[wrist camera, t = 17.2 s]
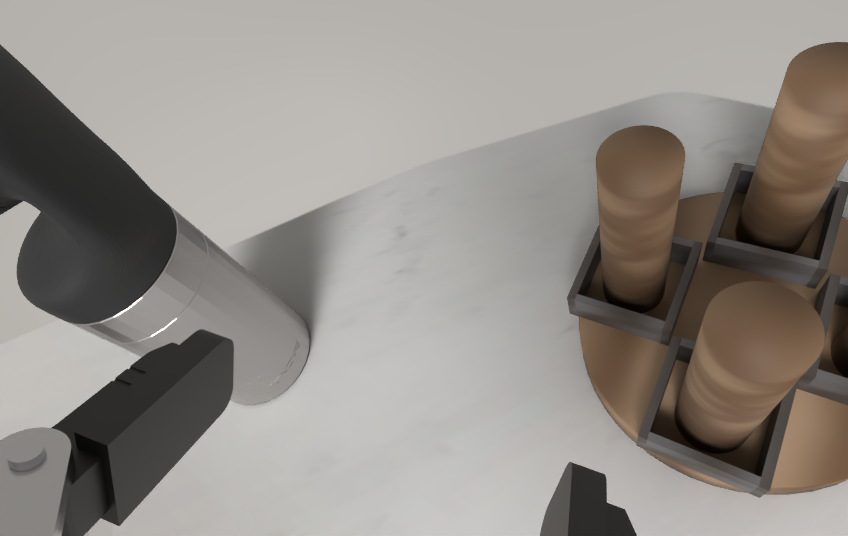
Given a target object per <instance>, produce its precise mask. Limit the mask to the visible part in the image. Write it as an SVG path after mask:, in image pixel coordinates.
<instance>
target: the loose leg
mask: <svg viewBox="0 0 848 536" xmlns="http://www.w3.org/2000/svg"><path fill="white" fill-rule="evenodd" d="M824 341H825V332H824V326H823V323H822V321H821V318H820V316H819V315H818V313H817V311H816V310H815V309H814V307H813V306H812V305H811V304H810V303H809V302H808V301H807V300H806V299H805V298H803V297H802V296H801V295H799V294H798V293H796V292H794V291H792V290H791V289H788V288H786V287H784V286H781V285H778V284H774V283H769V282H762V281H750V282H743V283H738V284H735V285H732V286H730V287H728V288H725V289H724V290H722V291H721V292H719V293H718V294H717V295H716V296H715V297H714V298H713V299H712V300H711V302H710V303H709V305H708V307H707V309H706V312H705V315H704V318H703V322H702V325H701V328H700V331H699V334H698V337H697V340H696V344H695V347H694V350H693V353H692V356H691V359H690V363H689V366H688V369H687V372H686V375H685V378H684V382H683V385H682V388H681V391H680V394H679V397H678V400H677V404H676V407H675V413H674V415H675V423H676V426H677V428H678V430H679V432H680V434H681V435H682V436H683V438H684V439H685V440H686V441H687V442H688V443H690V444H691V445H692V446H694V447H695V448H697V449H699V450H701V451H704V452H708V453H713V454H723V453H728V452H731V451H734V450H736V449H737V448H739V447H740V446H741V445H742V444H743V443H744V442H745V441H746V440H747V438H748V437H749V436H750V435H751V434H752V433H753V432H754V431H755V429H756V428H757V427H758V426H759V425H760V424H761V423H762V421H763V420H764V419H765V418H766V417H767V416H768V415H769V413H770V412H771V411H772V410H773V409H774V408H775V407H776V405H777V404H778V403H779V402H780V401H781V400H782V399H783V398H784V396H785V395H786V394H787V393H788V392H789V391H790V390H791V388H792V387H793V386H794V385H795V384H796V383H797V382H798V380H799V379H800V378H801V377H802V376H803V375H804V374H805V373H806V371H807V370H808V369H809V368H810V367H811V366H812V365H813V363H814V362H815V361H816V360H817V359H818V357H819V356H820V354H821V352H822V349H823V346H824Z"/></svg>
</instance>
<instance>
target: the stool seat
mask: <svg viewBox="0 0 848 536" xmlns="http://www.w3.org/2000/svg"><path fill="white" fill-rule="evenodd" d="M847 159H848V43H847V42H834V43H825V44H821V45H817V46H814V47H811V48H808V49H806V50H804V51H803V52H801V53H799V54H798V55H797V56H796V57H795V58H794V59H793V60H792V61H791V62H790V64H789V66H788V68H787V72H786V75H785V78H784V81H783V84H782V87H781V90H780V93H779V96H778V99H777V102H776V106H775V108H774V111H773V115H772V118H771V121H770V124H769V127H768V130H767V133H766V136H765V139H764V142H763V145H762V148H761V151H760V154H759V158H758V161H757V164H756V167H755V166H749V165H744V164H738V163H735V164H734V167H733V169H732V172H731V175H730V178H729V181H728V183H727V186H726V189H725V192H724V193H713V194H705V195H698V196H694V197H690V198H686V199H681V200H679V194H680V188H681V181H682V175H683V168H684V162H685V151H684V147H683V145H682V143H681V142H680V140H679V139H678V138H677V137H676V136H675V135H673V134H672V133H670V132H669V131H667V130H665V129H662V128H659V127H654V126H633V127H628V128H625V129H622V130H620V131H618V132H616V133H614V134H612V135H611V136H609V137H608V138H607V139H606V140H605V141H604V142H603V143H602V145H601V146H600V148H599V150H598V152H597V156H596V171H597V189H598V207H599V226H598V229H597V231H596V233H595V236H594V238H593V240H592V242H591V245H590V247H589V249H588V252H587V254H586V256H585V258H584V261H583V263H582V265H581V267H580V270H579V272H578V274H577V277H576V279H575V281H574V283H573V286H572V288H571V290H570V293H569V295H568V297H567V300H568V305H569V311H570V314H573V315H576V316H579V327H580V336H581V344H582V350H583V357H584V361H585V364H586V368H587V372H588V375H589V378H590V380H591V383H592V385H593V387H594V390H595V392H596V394H597V395H598V397H599V399H600V401H601V402H602V404H603V406H604V408H605V409H606V410H607V412H608V413H609V414H610V416H611V417H612V418H613V420H614V421H615V422H616V424H617V425H618V426H619V427H620V428H621V429H622V430H623V431H624V432H625V433H626V434H627V435H628V436H629V437H630V438H631V439H632V440H633V441H634V442H635V443H637V446H639V447H641V448H643V449H644V450H645V451H646V452H647V453H649V454H650V455H652V456H653V457H655V458H656V459H658V460H659V461H661V462H663V463H664V464H666V465H667V466H669V467H671V468H673V469H675V470H677V471H679V472H681V473H683V474H685V475H687V476H689V477H691V478H694V479H697V480H699V481H702V482H705V483H707V484H710V485H713V486H717V487H721V488H725V489H729V490H734V491H738V492H746V493H750V494H752V495H755V496H757V497H761V496H763V495H764V494H795V493H803V492H811V491H815V490H819V489H822V488H826V487H830V486H834V485H836V484H839V483H841V482H843V481H846V480H848V220H847V219H845V218H843V217H842V213H843V210H844V206H845V202H846V198H847V194H848V182H842V181H836V180H837V178H838V176H839V174H840V172H841V170H842V169H843V167H844V165H845V163H846V161H847ZM750 281H762V282H769V283H774V284H778V285H781V286H784V287H786V288H788V289H791V290H792V291H794V292H796V293H798V294H799V295H801V296H802V297H803V298H805V299H806V300H807V301H808V302H809V303H810V304H811V305H812V306H813V307H814V309H815V310H816V311H817V313H818V315H819V316H820V318H821V321H822V323H823V326H824V332H825V341H824V346H823V349H822V352H821V354H820V356H819V357H818V359H817V360H816V361H815V362H814V363H813V365H812V366H811V367H810V368H809V369H808V370H807V371H806V373H805V374H804V375H803V376H802V377H801V378H800V379H799V380H798V382H797V383H796V384H795V385H794V386H793V387H792V388H791V390H790V391H789V392H788V393H787V394H786V395H785V396H784V398H783V399H782V400H781V401H780V402H779V403H778V404H777V405H776V407H775V408H774V409H773V410H772V411H771V412H770V413H769V415H768V416H767V417H766V418H765V419H764V420H763V421H762V423H761V424H760V425H759V426H758V427H757V428H756V429H755V431H754V432H753V433H752V434H751V435H750V436H749V437H748V438H747V440H746V441H745V442H744V443H743V444H742V445H741V446H740V447H739V448H737V449H736V450H734V451H731V452H728V453H723V454H713V453H708V452H704V451H701V450H699V449H697V448H695V447H694V446H692V445H691V444H690V443H688V442H687V441H686V440H685V439H684V438H683V436H682V435H681V434H680V432H679V430H678V428H677V426H676V423H675V415H674V413H675V407H676V404H677V400H678V397H679V394H680V391H681V388H682V385H683V382H684V378H685V375H686V372H687V369H688V366H689V363H690V359H691V356H692V353H693V350H694V347H695V344H696V340H697V337H698V334H699V331H700V328H701V325H702V322H703V318H704V315H705V312H706V309H707V307H708V305H709V303H710V302H711V300H712V299H713V298H714V297H715V296H716V295H717V294H718V293H719V292H721V291H722V290H724V289H725V288H728V287H730V286H732V285H735V284H738V283H743V282H750Z"/></svg>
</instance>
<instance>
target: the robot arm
mask: <svg viewBox="0 0 848 536" xmlns="http://www.w3.org/2000/svg"><path fill="white" fill-rule="evenodd" d="M22 201H26V202H28V203H30V204H31V205H33V206H34V207H36V208H37V209H38V210H40V211H41V213H40V214H39V216H38V217H37V218H36V220H35V221H34V223H33V224H32V226H31V228H30V229H29V231H28V233H27V235H26V237H25V239H24V242H23V244H22V247H21V250H20V253H19V257H18V263H17V280H18V284H19V287H20V289H21V291H22V293H23V295H24V296H25V297H26V298H27V299H28V300H29V301H30V302H31V303H32V304H33V305H35V306H36V307H38V308H40V309H42V310H44V311H46V312H47V313H49V314H51V315H54V316H56V317H58V318H60V319H62V320H64V321H66V322H69V323H71V324H73V325H75V326H77V327H79V328H81V329H83V330H85V331H87V332H90V333H92V334H94V335H96V336H98V337H100V338H102V339H104V340H107V341H109V342H111V343H113V344H115V345H117V346H119V347H122V348H124V349H126V350H128V351H130V352H132V353H134V354H136V355H138V356H140V357H142V358H140V359H139V360H138V361H137V362H135V363H134V364H133V365H131V367H130V369H126V370H125V371H124V372H123V373H121V374H120V375H119V376H117V377H116V379H115V381H111V382H110V383H109V384H107V385H106V386H105V387H103V388H102V389H101V390H100V391H98V392H97V393H96V394H95V395H93V396H92V397H91V398H89V399H88V400H87V401H86V402H84V403H83V404H82V405H81V406H79V407H78V408H77V409H75V410H74V411H73V412H72V413H70V414H69V415H68V416H67V417H65V418H64V419H63V420H61V421H60V422H59V423H58V424H56V425H55V426H53V427H52V428H32V429H26V430H23V431H19V432H17V433H14V434H11V435H9V436H7V437H5V438H4V439H2V440H0V536H88V531H89V530H90V528H91V527H92V526H93V525H94V524H95V523H96V522H97V521H98V520H99V519H100V518H102V519H104V520H106V521H109V522H111V523H113V524H115V525H118V526H120V525H121V524H122V523H123V521H124V520H125V519H126V518H127V517H128V516H129V515H130V514H131V513H132V512H133V510H134V509H135V508H136V507H137V506H138V505H139V504H140V503H141V502H142V501H143V499H144V498H145V497H146V496H147V495H148V494H149V493H150V492H151V491H152V490H153V488H154V487H155V486H156V485H157V484H158V483H159V482H160V481H161V480H162V479H163V478H164V476H165V475H166V474H167V473H168V472H169V471H170V470H171V469H172V468H173V467H174V465H175V464H176V463H177V462H178V461H179V460H180V459H181V458H182V457H183V456H184V454H185V453H186V452H187V451H188V450H189V449H190V448H191V447H192V446H193V445H194V443H195V442H196V441H197V440H198V439H199V438H200V437H201V436H202V435H203V434H204V432H205V431H206V430H207V429H208V428H209V427H210V426H211V425H212V424H213V423H214V422H215V420H216V419H217V418H218V417H219V416H220V415H221V414H222V413H223V411H224V410H225V408H226V407H227V405H228V403H229V401H230V400H232V401H234V402H236V403H240V404H243V405H257V404H261V403H265V402H268V401H270V400H272V399H274V398H276V397H277V396H279V395H280V394H282V393H283V392H284V391H286V390H287V389H288V388H289V387H290V386H291V385H292V384H293V383H294V381H295V380H296V378H297V377H298V376H299V374H300V373H301V371H302V369H303V367H304V365H305V363H306V359H307V356H308V352H309V342H310V340H309V332H308V329H307V326H306V324H305V322H304V321H303V319H302V318H301V316H300V315H299V314H297V313H296V312H295V311H294V310H293V309H292V308H290V307H289V306H288V305H287V304H286V303H284V302H283V301H282V300H281V299H280V298H279V297H278V296H276V295H275V294H274V293H273V292H272V291H271V290H270V289H268V288H267V287H266V286H265V285H264V284H262V283H261V282H260V281H259V280H258V279H256V278H255V277H254V276H253V275H252V274H251V273H249V272H248V271H247V270H246V269H245V268H243V267H242V266H241V265H240V264H239V263H238V262H236V261H235V260H234V259H233V258H232V257H230V256H229V255H228V254H227V253H226V252H225V251H223V250H222V249H221V248H220V247H219V246H217V245H216V244H215V243H214V242H213V241H212V240H210V239H209V238H208V237H207V236H205V235H204V234H203V233H202V232H201V231H200V230H198V229H197V228H196V227H195V226H193V225H192V224H191V223H190V222H189V221H187V220H186V219H185V218H184V217H182V216H181V215H180V214H179V213H178V212H177V211H176V210H174V209H173V208H172V207H171V206H170V205H169V204H167V203H166V202H165V201H164V200H163V199H161V198H160V197H159V196H158V195H157V194H155V193H154V192H153V191H152V190H151V189H150V188H149V187H148V186H147V184H146V183H145V182H144V181H143V180H142V179H141V178H140V177H139V176H138V175H137V174H136V173H135V171H134V170H133V169H132V168H131V167H130V166H129V165H128V164H127V163H126V162H125V161H124V160H123V159H122V158H121V157H120V156H119V155H118V154H117V153H116V152H115V151H113V150H112V149H111V148H110V147H109V146H108V145H107V144H106V143H104V142H103V141H102V140H101V139H100V138H99V137H98V136H97V135H95V134H94V133H93V132H92V131H91V130H90V129H89V128H88V127H87V126H86V125H85V124H84V123H83V122H81V121H80V120H79V119H78V118H77V117H76V116H75V115H74V114H73V113H72V112H71V111H70V110H69V109H68V108H67V107H66V106H64V105H63V104H62V103H61V102H60V101H59V100H58V99H57V98H56V97H55V96H54V95H53V94H52V93H51V92H50V91H49V90H48V89H47V88H46V87H45V86H44V85H43V84H42V83H41V82H40V81H39V80H38V79H37V78H36V77H35V76H34V75H32V73H31V72H29V70H27V69H26V68H25V67H24V66H23V65H22V64H21V63H20V62H19V61H18V60H17V59H15V58H14V57H13V56H12V55H11V54H10V53H9V52H8V51H7V50H6V49H4V48H3V47H2V46H1V45H0V215H1V214H3V213H4V212H6V211H7V210H9V209H11V208H12V207H14V206H16V205H17V204H19V203H21V202H22ZM540 536H637V535H636V533H635V531H634V528H633V526H632V524H631V522H630V520H629V517H628V515H627V513H626V511H625V509H622V508H619V507H617V506H614V505H611V504H609V503H607V491H606V476H605V475H604V474H602V473H599V472H597V471H594V470H591V469H588V468H585V467H583V466H580V465H577V464H574V463H571V462H569V463H568V465H567V467H566V469H565V471H564V473H563V475H562V477H561V479H560V481H559V484H558V486H557V488H556V490H555V492H554V494H553V497H552V499H551V501H550V503H549V505H548V508H547V510H546V513H545V516H544V520H543V524H542V528H541V533H540Z"/></svg>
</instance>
